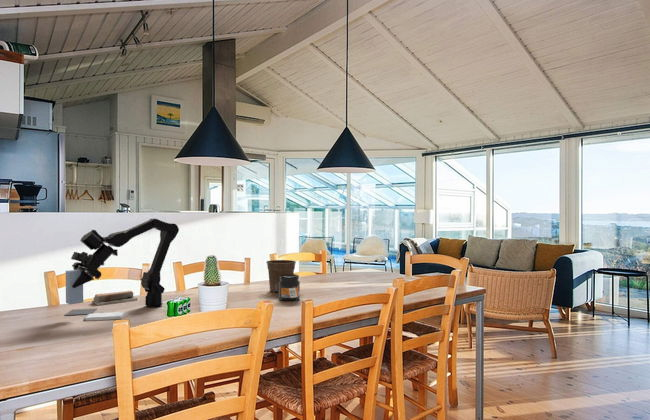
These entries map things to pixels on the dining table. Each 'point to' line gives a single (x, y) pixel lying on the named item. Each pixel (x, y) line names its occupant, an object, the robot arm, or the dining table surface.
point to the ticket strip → (104, 316)
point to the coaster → (80, 312)
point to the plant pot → (278, 271)
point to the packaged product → (113, 298)
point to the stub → (73, 293)
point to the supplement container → (289, 287)
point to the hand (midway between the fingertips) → (70, 286)
